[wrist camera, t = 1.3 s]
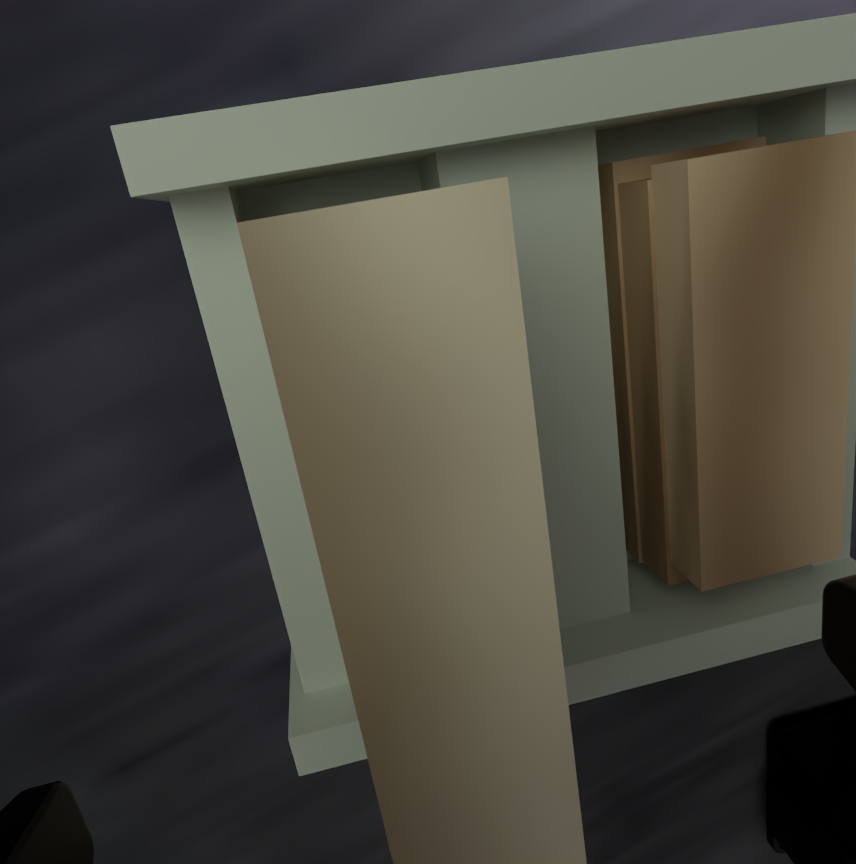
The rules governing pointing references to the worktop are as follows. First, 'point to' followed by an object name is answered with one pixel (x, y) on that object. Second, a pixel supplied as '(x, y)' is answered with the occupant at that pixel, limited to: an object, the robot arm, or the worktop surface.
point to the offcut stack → (732, 353)
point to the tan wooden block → (428, 511)
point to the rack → (542, 308)
